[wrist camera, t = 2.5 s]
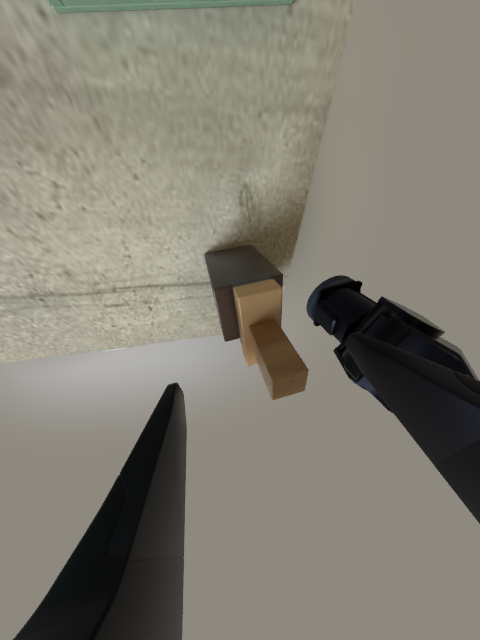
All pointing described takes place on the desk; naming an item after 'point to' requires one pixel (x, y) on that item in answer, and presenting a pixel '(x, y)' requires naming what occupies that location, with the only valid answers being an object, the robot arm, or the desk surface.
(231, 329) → the dark brown block
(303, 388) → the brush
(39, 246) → the desk surface
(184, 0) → the tray
